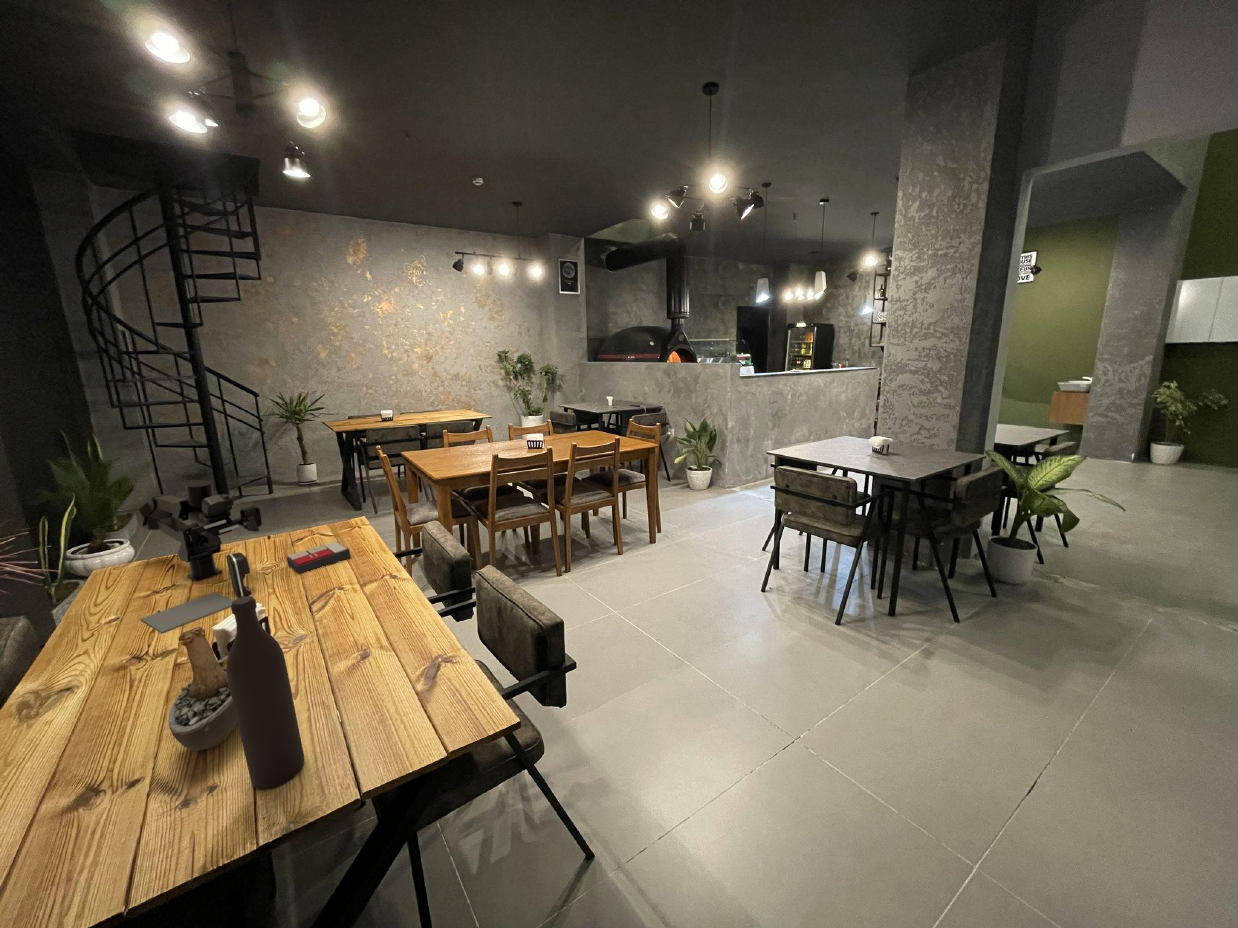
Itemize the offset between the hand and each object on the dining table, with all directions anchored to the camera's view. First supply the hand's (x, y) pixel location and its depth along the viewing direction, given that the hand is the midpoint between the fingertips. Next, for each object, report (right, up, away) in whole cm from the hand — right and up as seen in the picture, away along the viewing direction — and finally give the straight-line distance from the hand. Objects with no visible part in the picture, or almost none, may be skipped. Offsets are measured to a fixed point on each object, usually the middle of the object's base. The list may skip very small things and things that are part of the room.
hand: (239, 535), depth 134 cm
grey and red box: (+8, -12, +23) cm, 27 cm away
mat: (-8, -19, -6) cm, 21 cm away
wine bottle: (+50, -29, -57) cm, 81 cm away
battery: (-1, -17, +3) cm, 17 cm away
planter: (+33, -28, -47) cm, 64 cm away
